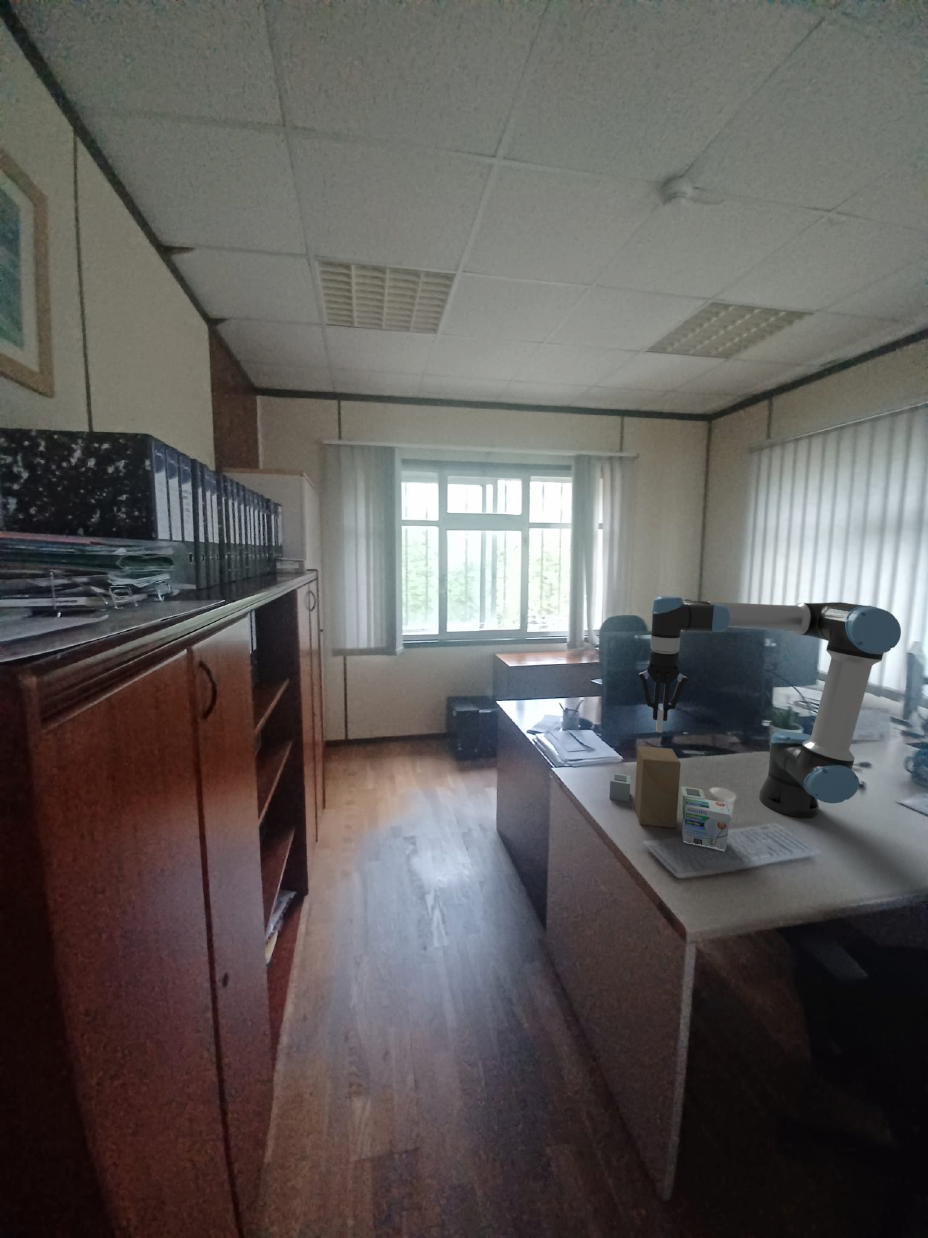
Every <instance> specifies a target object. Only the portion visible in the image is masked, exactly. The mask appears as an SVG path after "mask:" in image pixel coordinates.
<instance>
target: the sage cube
mask: <svg viewBox="0 0 928 1238" xmlns="http://www.w3.org/2000/svg"><path fill="white" fill-rule="evenodd" d="M685 796H690V797H695V798H701V799H706V797H705V793H704V790H703V789H702V788H696V787H689V786H682V785H680V796H679V797H680V798H679V807H680V811H681V814H682V815H683V811H684V799H685Z"/></svg>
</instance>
